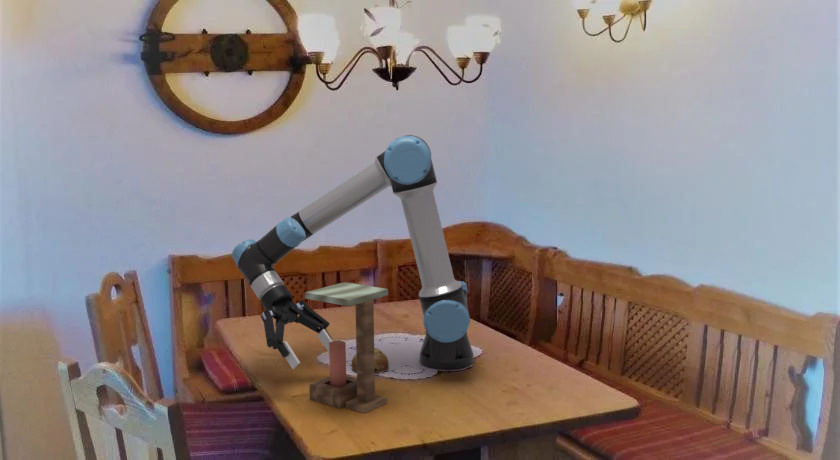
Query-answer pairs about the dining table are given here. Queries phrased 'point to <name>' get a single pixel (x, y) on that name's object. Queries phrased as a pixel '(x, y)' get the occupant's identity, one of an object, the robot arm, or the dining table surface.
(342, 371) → the peg
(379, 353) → the bread roll
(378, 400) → the awning socket
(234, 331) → the dining table surface
